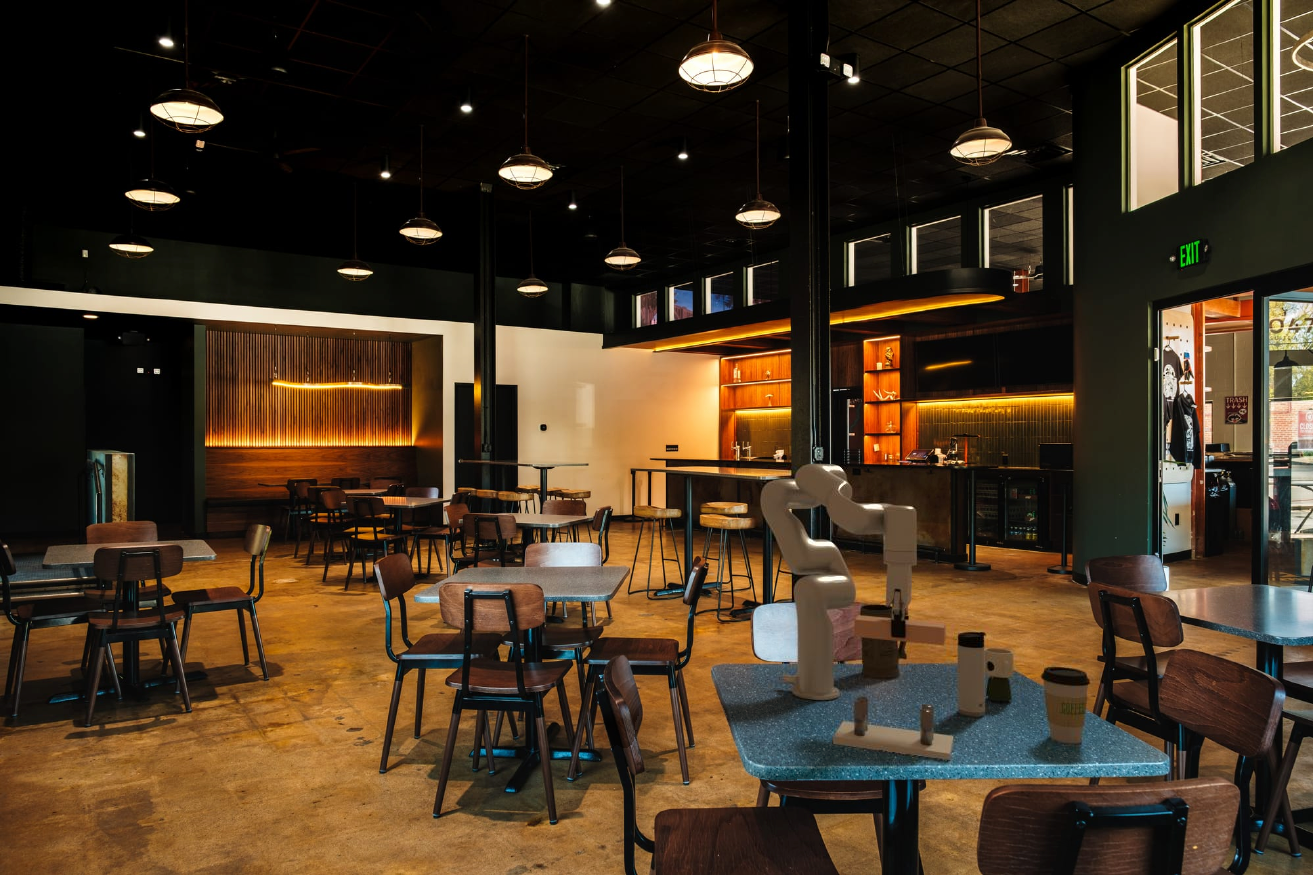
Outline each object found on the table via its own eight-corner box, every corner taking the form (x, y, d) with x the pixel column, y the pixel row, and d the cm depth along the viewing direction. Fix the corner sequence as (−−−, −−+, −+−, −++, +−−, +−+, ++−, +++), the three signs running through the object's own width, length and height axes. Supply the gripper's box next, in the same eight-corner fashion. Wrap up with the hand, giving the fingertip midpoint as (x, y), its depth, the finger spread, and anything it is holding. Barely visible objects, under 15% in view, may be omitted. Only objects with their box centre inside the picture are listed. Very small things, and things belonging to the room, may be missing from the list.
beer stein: (878, 681, 225) (877, 610, 226) (852, 672, 235) (852, 604, 235) (917, 675, 232) (917, 606, 233) (891, 667, 242) (891, 601, 243)
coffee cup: (1089, 749, 171) (1088, 679, 172) (1039, 740, 176) (1038, 672, 177) (1092, 736, 179) (1091, 669, 180) (1044, 728, 185) (1043, 663, 185)
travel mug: (988, 718, 192) (988, 635, 193) (960, 716, 194) (959, 633, 194) (983, 710, 198) (983, 630, 199) (955, 708, 200) (955, 628, 200)
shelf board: (854, 636, 188) (854, 619, 188) (858, 631, 193) (858, 615, 193) (943, 645, 180) (943, 627, 180) (945, 640, 185) (945, 623, 185)
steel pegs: (853, 735, 174) (853, 702, 174) (857, 727, 180) (857, 696, 180) (931, 746, 168) (931, 712, 168) (934, 737, 173) (933, 705, 173)
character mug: (977, 694, 213) (976, 645, 213) (1003, 694, 213) (1003, 646, 213) (993, 706, 202) (993, 655, 202) (1021, 706, 202) (1021, 655, 202)
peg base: (833, 743, 173) (833, 736, 173) (843, 727, 184) (843, 721, 184) (950, 760, 163) (949, 753, 163) (953, 742, 174) (953, 735, 174)
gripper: (888, 553, 196) (888, 626, 196) (878, 560, 181) (878, 640, 180) (920, 555, 193) (920, 629, 193) (912, 562, 178) (912, 643, 177)
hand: (900, 633), depth 186 cm, fingers closed on shelf board, 6 cm apart
